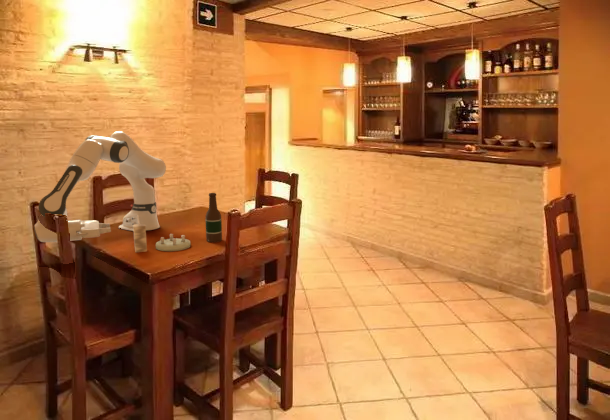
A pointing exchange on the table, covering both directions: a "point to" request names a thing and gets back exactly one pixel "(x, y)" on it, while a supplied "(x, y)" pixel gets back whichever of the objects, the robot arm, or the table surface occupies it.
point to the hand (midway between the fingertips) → (110, 227)
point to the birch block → (140, 237)
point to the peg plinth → (172, 248)
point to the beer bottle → (213, 221)
